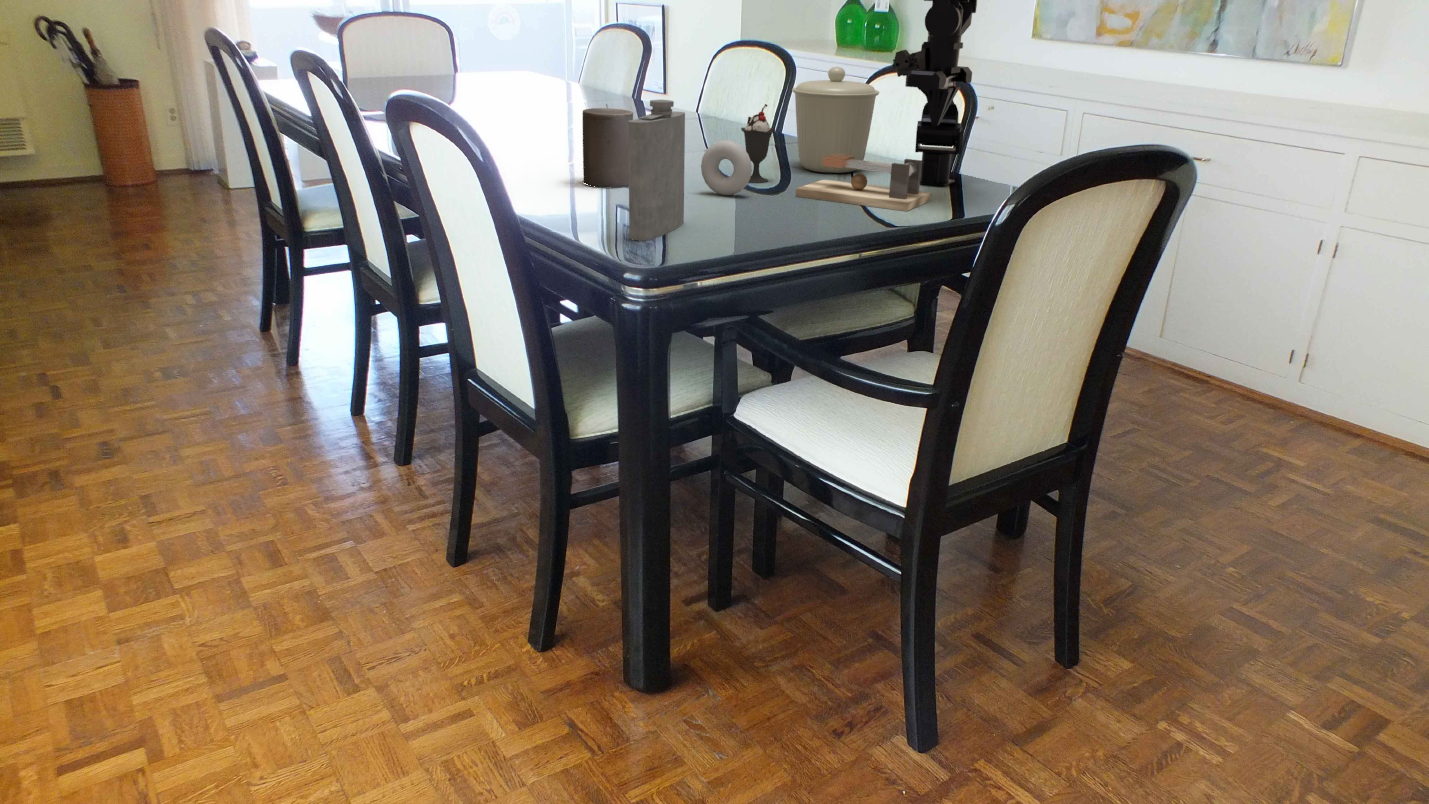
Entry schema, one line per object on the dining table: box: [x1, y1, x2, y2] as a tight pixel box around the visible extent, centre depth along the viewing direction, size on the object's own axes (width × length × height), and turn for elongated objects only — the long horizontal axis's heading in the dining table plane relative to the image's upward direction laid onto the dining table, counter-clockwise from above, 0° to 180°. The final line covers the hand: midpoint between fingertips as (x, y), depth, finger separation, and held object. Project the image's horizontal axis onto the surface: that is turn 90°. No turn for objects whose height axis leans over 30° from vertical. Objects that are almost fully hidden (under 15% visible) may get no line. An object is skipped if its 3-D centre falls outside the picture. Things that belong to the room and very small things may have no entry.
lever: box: [822, 154, 917, 177], centre depth 190 cm, size 5×17×2 cm, turn 59°
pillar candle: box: [582, 103, 634, 189], centre depth 198 cm, size 10×10×15 cm
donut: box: [700, 139, 753, 196], centre depth 191 cm, size 10×4×10 cm, turn 65°
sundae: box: [740, 103, 776, 184], centre depth 205 cm, size 7×7×15 cm
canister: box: [791, 66, 880, 174], centre depth 218 cm, size 18×18×21 cm
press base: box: [795, 158, 932, 212], centre depth 191 cm, size 12×22×8 cm, turn 59°
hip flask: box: [628, 99, 686, 242], centre depth 160 cm, size 16×4×20 cm, turn 158°
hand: (935, 125), depth 191 cm, fingers closed
